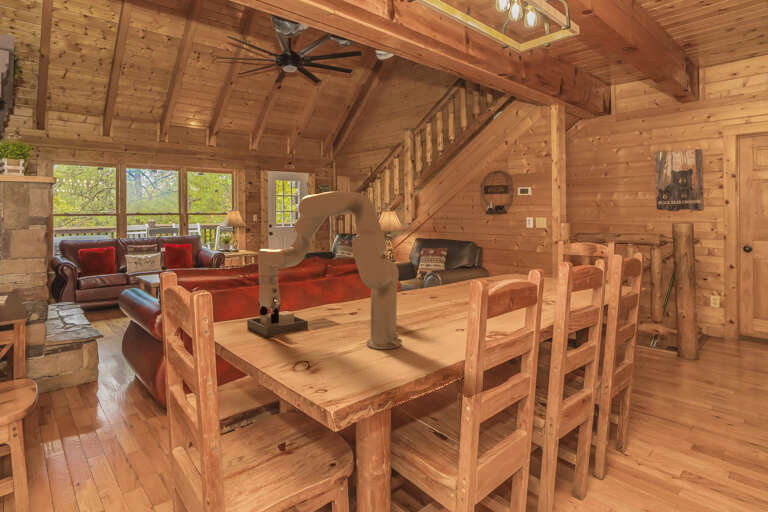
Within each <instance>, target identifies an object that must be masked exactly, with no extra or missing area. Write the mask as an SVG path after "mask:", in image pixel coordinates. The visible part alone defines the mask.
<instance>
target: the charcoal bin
mask: <svg viewBox="0 0 768 512" xmlns="http://www.w3.org/2000/svg"><path fill="white" fill-rule="evenodd" d="M308 321H309V320H307V319H303V318H301V317H298V316H295V315H294V323H290V324H285V325H279V326H274V327H266V326H263V325H261V324H260V316H259V317H253V318H248V319H247V321H246V322H247V323H246V325H247V330H249V331H251V332H252V333H254V334H256V335H259V336H261V337H264V338H265V339H271V338H274V335H278V334H280V335H281V334H285V333H290V332H294V331H300V330H304V329H309V328H308Z"/></svg>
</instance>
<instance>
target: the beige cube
mask: <svg viewBox="0 0 768 512" xmlns="http://www.w3.org/2000/svg"><path fill="white" fill-rule="evenodd" d="M271 314H272V312H271V313H268V314H265V315H260V314H259V317H260V324H261V325H263V326H266V327H274V326H279V323H274V324H272V323H271Z"/></svg>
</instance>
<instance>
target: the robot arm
mask: <svg viewBox="0 0 768 512" xmlns="http://www.w3.org/2000/svg"><path fill="white" fill-rule="evenodd" d="M297 209H298V212H299V215H300V216H299V217H298V218H297V220H296V221H295V222H294V224H293V229H294V231H295V232H296V234H297V235H296V238H295V240H294V241H293V243H292V244H291V245H290V247H288V248H287V247H286V248H281V249H275V248H260V249H259V250H258V252H257V260H258V262H257V263H258V264H257V265H258V267H257V268H258V285H259V286H258V287H259V289H258V298H257V301H258V305H259V308H258V309H259V316H260V315H265V314H269V313H268V312H269V311H268V309H270V312H271V313H272V314H271V313H270V314H271V323H272V324H274V323H279V312H280V310H281V295H280V288H279V287H280V286H279V271H278V270H279V269H281V270H282V269H287V268H290V267H291V268H292V267H295V266H297V265H298V264H299V263H301V262H302V261H303V259H304V258H305V257H306V255H307V254H308V253H309V251H310V249H311V246H312V243H313V238H314V236H315V234H316V233H317V232H318V231H319V229H320V227H321V226H322V224H323V223H324V222H325V220H326V219H327V218H328V217H332V216H333V217H334V216H346V215H353V216H354V223H355V227H356V231H357V232H358V234H356V236H355V237H354V238H353V240H352V243H351V251H352V255H353V259H354V261H355V264H356V268H357V271H358V274H359V276H360V279H361V281H362V283H363V284H364V285H365V286H366V288H368V289H370V338H369V339H367V340H366V343H365V344H366V346H367V347H368V348H371V349H375V350H392V349H396V348H398V347H399V348H400V346H401V344H402V342H403V339H402V338H399V334H398V333H397V310H398V309H397V304H398V301H397V299H398V298H397V297H398V285H399V275H400V274H399V273H400V272H399V268H398V266H397V264H396V263H395V262H394V261H392V260H391V259H388V258H382V255H384V254H385V252H386V251H387V246H388V245H387V240H386V238H385V235H384V231H383V229H382V228H383V227H382V226H381V223H380V220H379V218H378V214H377V211H376V208H375V205H374V203H373V202H372V200H371V199H370V198H369V197H368V196H367V195H365V194H364V193H360V192H356V191H346V190H345V191H344V190H343V191H342V190H333V191H327V192H322V193H321V192H320V193H318V194H311V195H306V196H304V197H302V199H301V200H300V201H299V203H298V208H297Z"/></svg>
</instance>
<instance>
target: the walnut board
mask: <svg viewBox="0 0 768 512" xmlns="http://www.w3.org/2000/svg"><path fill="white" fill-rule="evenodd" d="M307 321H308V328H307V329H311V330H312V331H313V330H314V331H316V330H319V329H325V328H330V327H335V326H339V325H342V323H341V322H337V321H334V320H331V319H328V318H325V317H321V318H316V319H312V320H307Z"/></svg>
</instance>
